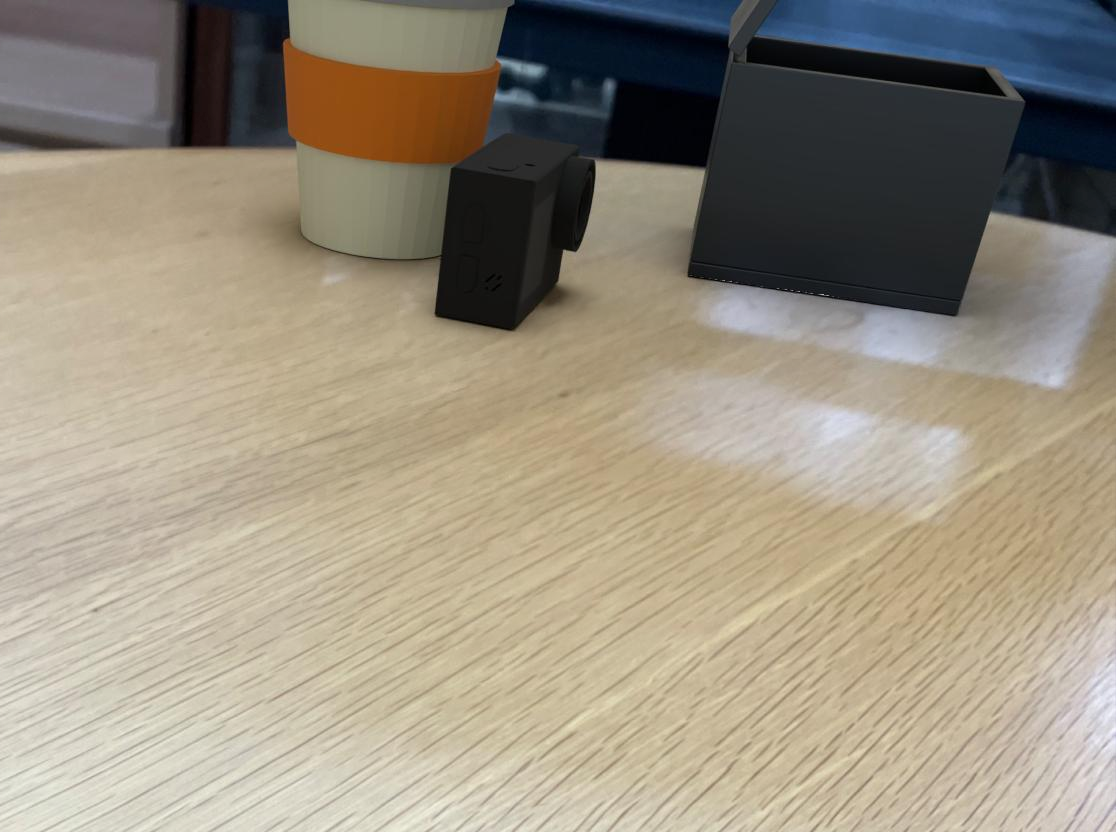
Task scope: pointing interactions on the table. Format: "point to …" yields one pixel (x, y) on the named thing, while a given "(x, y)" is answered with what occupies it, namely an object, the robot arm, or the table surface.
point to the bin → (852, 173)
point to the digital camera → (511, 227)
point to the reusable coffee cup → (386, 115)
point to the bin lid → (747, 22)
